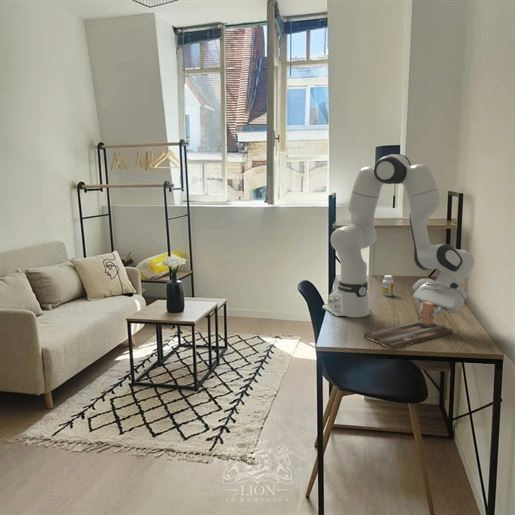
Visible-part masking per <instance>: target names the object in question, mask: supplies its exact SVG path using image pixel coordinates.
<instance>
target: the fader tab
mask: <svg viewBox="0 0 515 515" xmlns="http://www.w3.org/2000/svg"><path fill="white" fill-rule="evenodd" d="M434 308H435V307H434V303H430V302H424V303H423V314H422V319H421V320H422V322H419V326H422V327H425V328H432V327H436V325H438V324H437V323H436V322H435V323H434V318H433V317H431V313H432V311H433V312H435V311H434V310H435V309H434Z"/></svg>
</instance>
